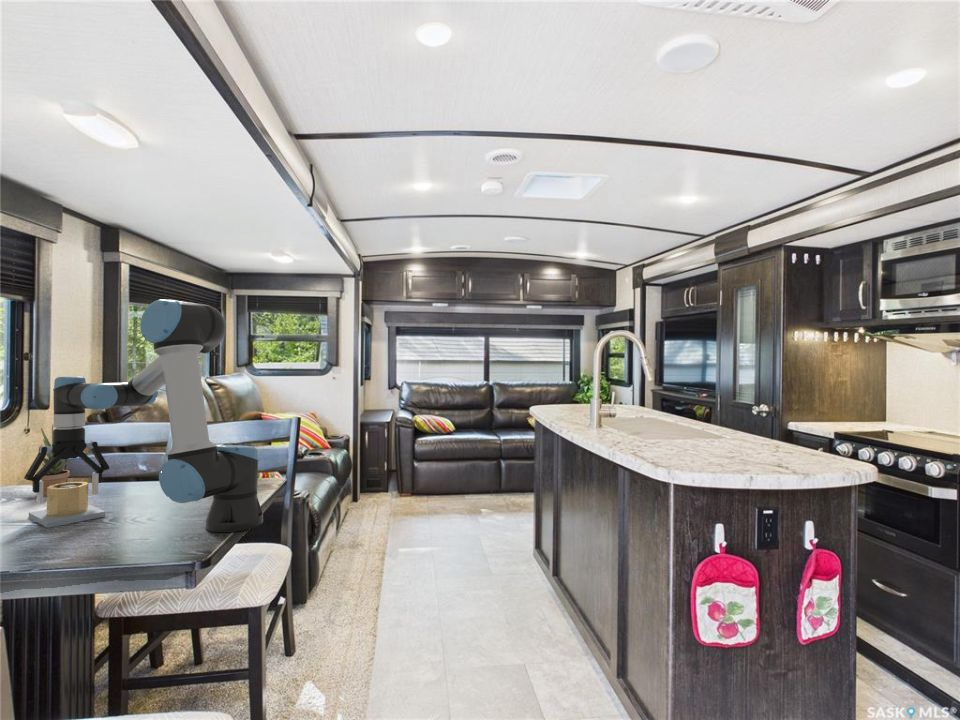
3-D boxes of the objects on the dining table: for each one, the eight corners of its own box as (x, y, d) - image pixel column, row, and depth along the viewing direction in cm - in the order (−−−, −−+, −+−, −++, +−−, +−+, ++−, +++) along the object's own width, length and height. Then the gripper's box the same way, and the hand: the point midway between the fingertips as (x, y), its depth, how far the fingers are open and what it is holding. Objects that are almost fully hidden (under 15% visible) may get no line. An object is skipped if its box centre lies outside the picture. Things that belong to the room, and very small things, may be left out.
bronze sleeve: (92, 511, 157) (92, 484, 157) (53, 518, 150) (54, 490, 150) (80, 505, 163) (80, 480, 163) (42, 512, 155) (43, 485, 155)
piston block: (105, 516, 157) (105, 486, 157) (47, 527, 146) (48, 495, 146) (84, 507, 166) (85, 478, 166) (28, 517, 155) (29, 487, 155)
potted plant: (28, 494, 180) (29, 423, 181) (59, 488, 189) (60, 421, 189) (45, 498, 177) (47, 425, 177) (76, 492, 185) (77, 422, 185)
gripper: (111, 423, 169) (111, 488, 168) (11, 430, 148) (10, 505, 148) (121, 424, 164) (121, 492, 164) (19, 432, 144) (18, 509, 144)
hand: (68, 498), depth 156 cm, fingers open, 13 cm apart
